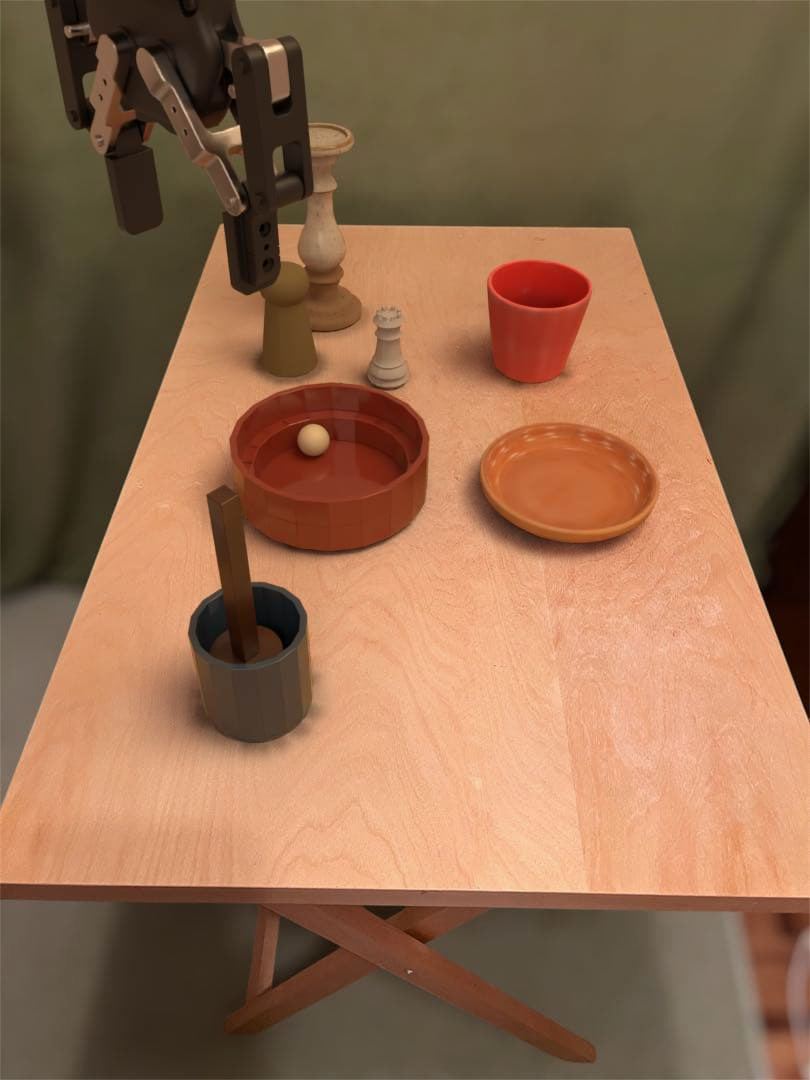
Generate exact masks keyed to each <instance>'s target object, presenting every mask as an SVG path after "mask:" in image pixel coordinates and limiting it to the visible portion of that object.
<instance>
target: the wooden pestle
mask: <svg viewBox="0 0 810 1080" xmlns="http://www.w3.org/2000/svg"><path fill="white" fill-rule="evenodd" d="M205 498H206V501H207V509H208V514H209V515H208V516H209V520H210V527H211V532H212V540H213V545H214V551H215V558H216V563H217V568H218V569H217V570H218V575H219V581H220V586H221V588H222V594H223V600H224V606H225V612H226V618H227V624H228V630H227V631H225V632H224V633H222V634H221V635H220V636H219V637H218V638H217V639H216V640H215V641H214V643H213V644H212V646H211V649H210V653H209V654H210V655H211V656H212V657H213V658H216V659H219V660H222V661H225V662H228V663H232V664H255V663H258V662H261V661H264V660H267V659H270V658H273V657H275V656H277V655H278V654H279V653H281V652H282V651H283V644H282V642H281V640H280V638H279V637H278V636H277V634H276V633H274V632H273V631H272V630H270V629H268V628H266V627H263V626H259V625H257V622H256V615H255V607H254V600H253V592H252V585H251V582H252V578H251V571H250V564H249V562H250V561H249V555H248V548H247V547H248V546H247V540H246V533H245V532H246V531H245V526H244V518H243V513H242V510H241V503H240V495H239V494H238V493H237V492H236V490H235V489H232V488H231V487H229V486H228V485H227V484H225V483H223V484H222V485H221V486H219V487H217V488H215V489H213V490H212V491H210V492H208V493H207V494H206V495H205ZM221 588H220V589H221Z"/></svg>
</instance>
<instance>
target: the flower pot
mask: <svg viewBox="0 0 810 1080" xmlns="http://www.w3.org/2000/svg"><path fill="white" fill-rule="evenodd" d="M486 291H487V307H488V308H487V309H488V319H489V320H488V322H489V332H490V340H491V341H490V342H491V350H492V359H493V364H494V367H495V368H496V369H497V370H498V371H499V372H500V373H502V375H504V376H505V377H508V378H509V379H511V380H514V381H519V382H523V383H532V384H533V383H534V384H535V383H543V382H548V381H551V380H553V379H555V378H557V377H558V376H559V375H561V373H562V372H563V371H564V368H565V367H566V364H567V361H568V359H569V357H570V354H571V351H572V349H573V346H574V344H575V342H576V338H577V336H578V333H579V331H580V328H581V324H582V323H583V320H584V317H585V315H586V312H587V310H588V306H589V305H590V301H591V298H592V295H593V284H592V282H591V280H590V279H589V278H588V276H587V275H585V274H584V273H583V272H582V271H580V270H578V269H577V268H574V267H572V266H570V265H566V264H564V263H560V262H557V261H551V260H546V259H545V260H544V259H519V260H513V261H509V262H506V263H504V264H501V265H499V266H498V267H496V268H495V269H493V270H492V271H491V272H490V273H489V275H488V277H487V280H486Z"/></svg>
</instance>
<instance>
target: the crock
mask: <svg viewBox="0 0 810 1080" xmlns="http://www.w3.org/2000/svg"><path fill="white" fill-rule="evenodd" d="M251 585H252V592H253V600H254V607H255V615H256V622H257V625H259V626H263V627H266V628H268V629H270V630H272V631H273V632H274V633H276V634H277V636H278V637H279V638H280V640H281V642H282V644H283V651H282V652H281V653H279V654H278V655H277V656H275V657H273V658H270V659H267V660H264V661H261V662H258V663H255V664H232V663H228V662H225V661H222V660H219V659H216V658H213V657H212V656H211V655H210V654H209V653H210V649H211V646H212V644H213V643H214V641H215V640H216V639H217V638H218V637H219V636H220V635H221V634H222V633H224V632H225V631H227V630H228V624H227V618H226V612H225V606H224V600H223V594H222V588H219V589H217V590H216V591H214V592H213V593H211V594H210V595H208V596H206V597H205V598H204V599H203V600H201V602H200V603H199V604H198V605H197V607H196V608H195V609H194V611H193V612H192V614H191V616H190V619H189V624H188V630H187V637H188V642H189V646H190V651H191V657H192V660H193V665H194V670H195V675H196V679H197V684H198V689H199V693H200V698H201V703H202V706H203V709H204V712H205V716H206V718H207V720H208V721H209V723H210V724H211V726H212V727H213V728H214V729H215V730H216V731H217V732H219V733H220V734H222V735H223V736H225V737H227V738H229V739H232V740H234V741H238V742H244V743H263V742H268V741H272V740H275V739H278V738H281V737H283V736H285V735H287V734H289V733H290V732H291V731H293V730H294V729H296V728H297V727H298V726H299V725H300V724H301V723H302V722H303V720H305V718H306V716H307V715H308V713H309V711H310V709H311V706H312V703H313V697H314V696H313V695H314V694H313V686H314V685H313V684H314V683H313V672H312V671H313V670H312V658H311V657H312V656H311V644H310V631H309V630H310V629H309V618H308V617H309V616H308V612H307V610H306V608H305V607H304V605H303V602H302V601H301V599H300V598H299V597H297V596H296V595H295V594H293V592H291V591H289V590H288V589H287V588H286V587H284V586H279V585H276V584H272V583H269V582H266V581H251Z"/></svg>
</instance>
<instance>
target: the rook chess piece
mask: <svg viewBox="0 0 810 1080" xmlns="http://www.w3.org/2000/svg"><path fill="white" fill-rule="evenodd" d="M375 311H376V313H375V315H374V316H373V318H372V323H373V324H374V325H375V327H376V330H375V331H374V335H375V336H376V344H375V351H374V354H373V355H372V357H371V360H370V361H369V362H368V366H367V371H368V372H367V379H368V381H370V383H371V384H372V385H373V386H375V387H377V389H382V390H394V389H398V388H400V387H402V386H404V385H405V384H406V383H407V381H408V380H409V379H410V373H409V364H408V362H407V361H406V360H405V359H406V358H405V356H404V355H403V353H402V346H401V338H402V336H403V331H402V330H401V327H402V326H403V325H404V324H405V323H406V321H405V320H406V319H405V317H404V316H403V315H402V309H401V308H399V307H398V308H396V306H395V305H390V307H389V309H388V307H387V305H382V306H381V308H380V307H378V308H376V310H375Z"/></svg>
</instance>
